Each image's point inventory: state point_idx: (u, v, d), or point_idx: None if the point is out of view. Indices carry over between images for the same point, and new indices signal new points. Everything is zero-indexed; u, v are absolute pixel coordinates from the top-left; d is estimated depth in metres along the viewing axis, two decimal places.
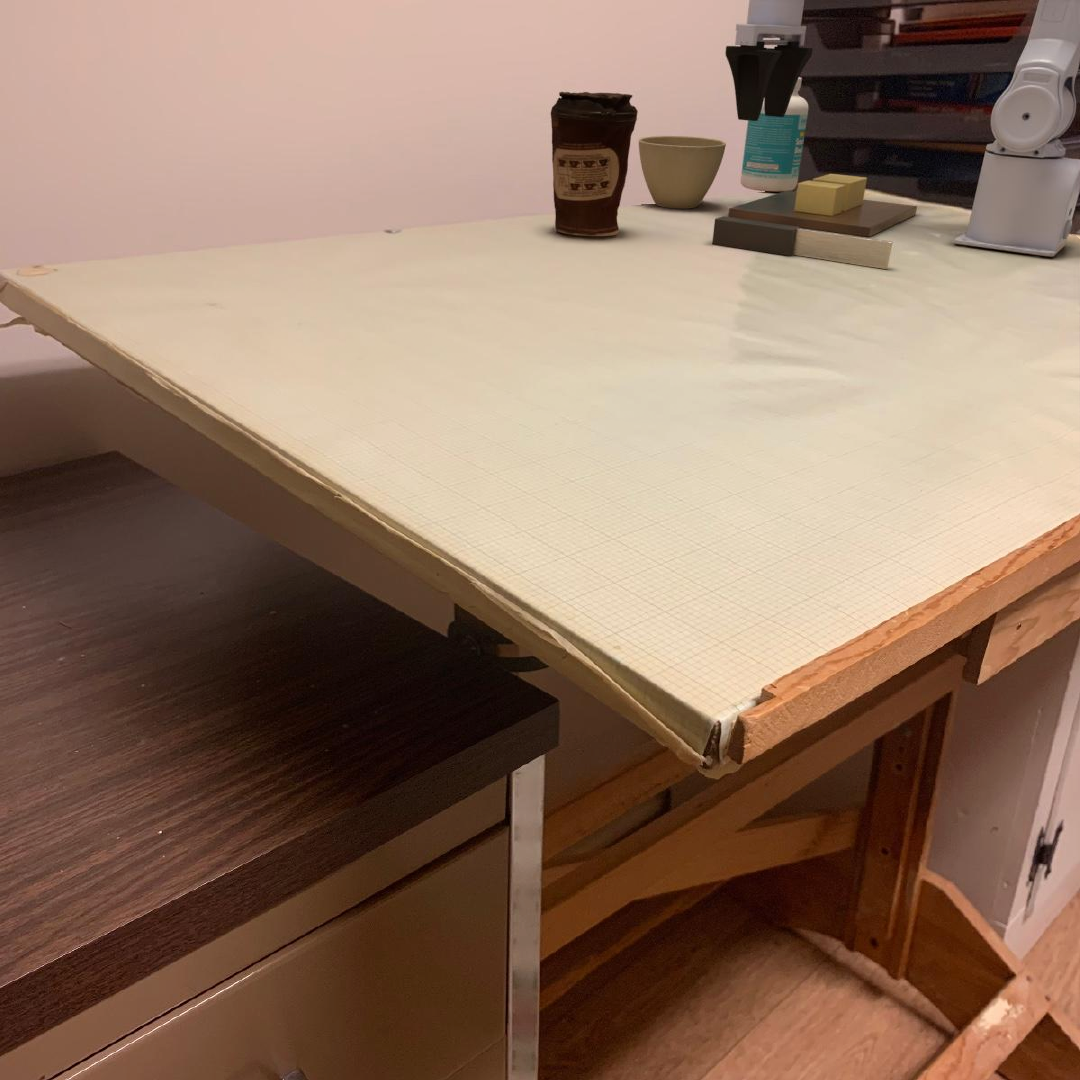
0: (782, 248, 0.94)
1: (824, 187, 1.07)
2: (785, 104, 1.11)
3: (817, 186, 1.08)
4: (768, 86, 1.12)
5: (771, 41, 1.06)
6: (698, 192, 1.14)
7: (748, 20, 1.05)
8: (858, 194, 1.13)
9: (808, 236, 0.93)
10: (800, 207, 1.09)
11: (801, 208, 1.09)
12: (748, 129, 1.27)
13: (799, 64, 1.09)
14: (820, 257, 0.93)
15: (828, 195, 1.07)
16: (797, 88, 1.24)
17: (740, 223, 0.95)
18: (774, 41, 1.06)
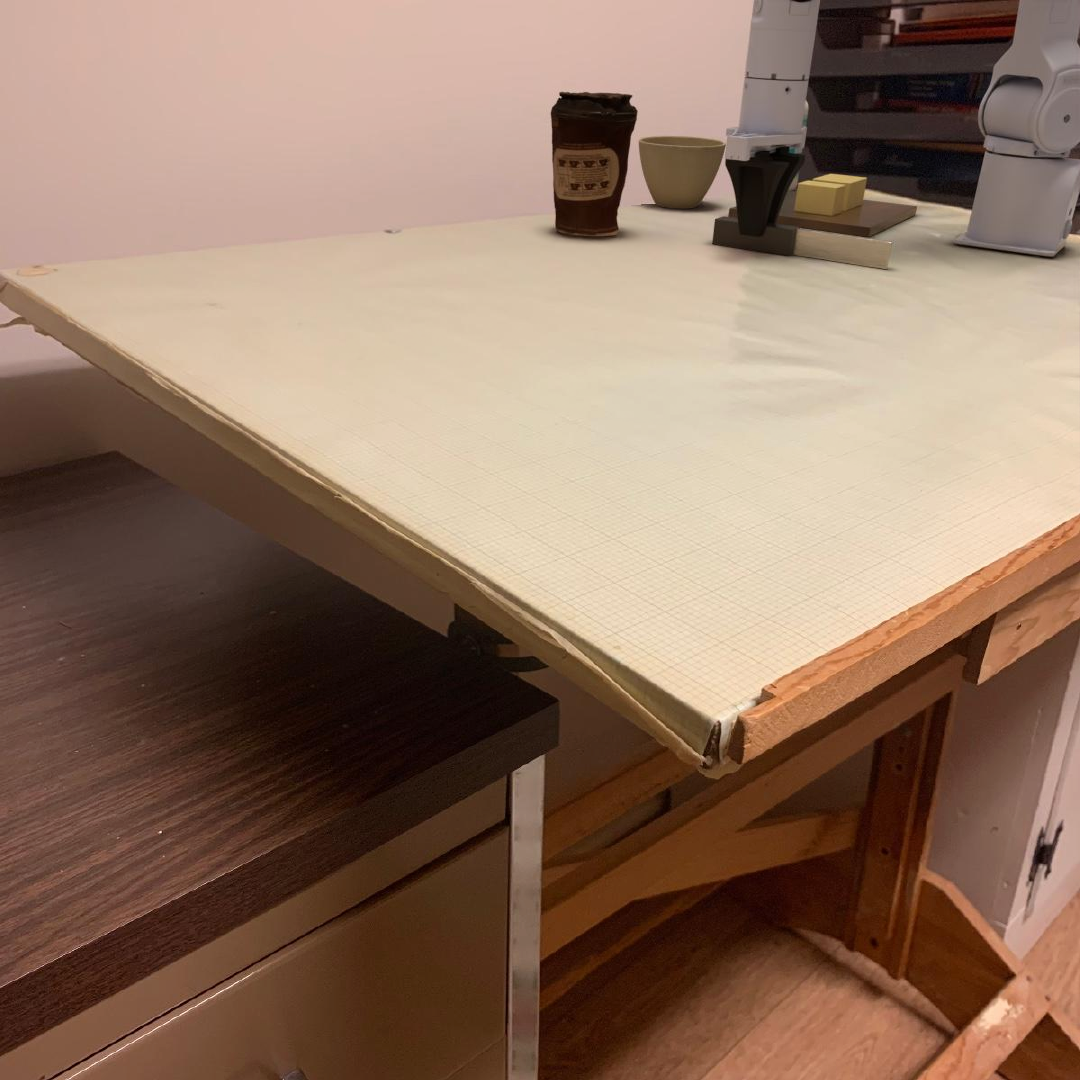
0: (782, 248, 0.94)
1: (824, 187, 1.07)
2: (773, 219, 0.95)
3: (817, 186, 1.08)
4: None
5: (767, 149, 0.91)
6: (698, 192, 1.14)
7: (740, 126, 0.91)
8: (858, 194, 1.13)
9: (808, 236, 0.93)
10: (800, 207, 1.09)
11: (801, 208, 1.09)
12: None
13: (789, 175, 0.93)
14: (820, 257, 0.93)
15: (828, 195, 1.07)
16: None
17: None
18: (770, 149, 0.92)
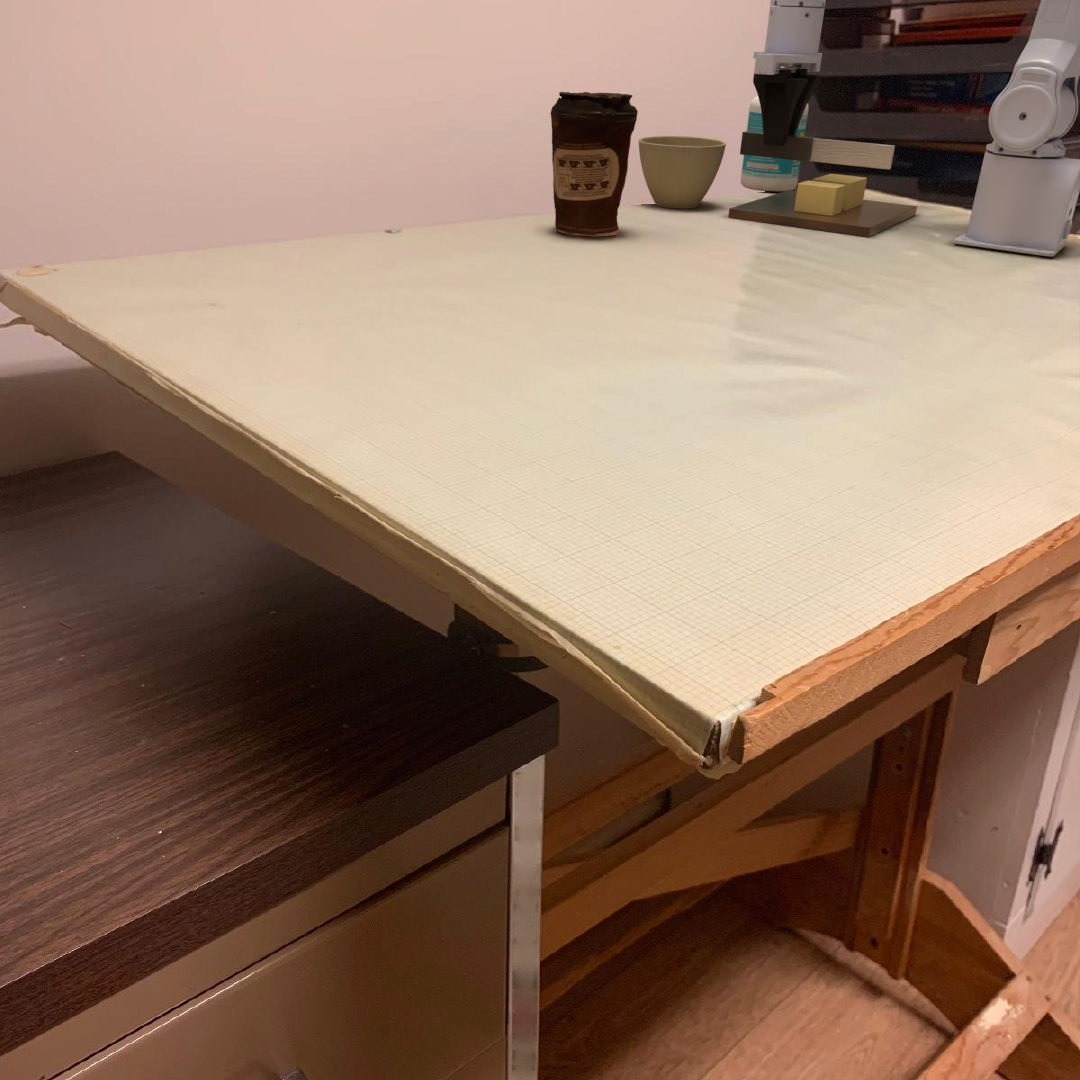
0: (801, 155, 1.10)
1: (824, 187, 1.07)
2: (793, 131, 1.11)
3: (817, 186, 1.08)
4: None
5: (788, 69, 1.07)
6: (698, 192, 1.14)
7: (766, 48, 1.07)
8: (858, 194, 1.13)
9: (822, 144, 1.09)
10: (800, 207, 1.09)
11: (801, 208, 1.09)
12: (748, 129, 1.27)
13: (807, 92, 1.09)
14: (833, 162, 1.09)
15: (828, 195, 1.07)
16: None
17: None
18: (791, 69, 1.08)
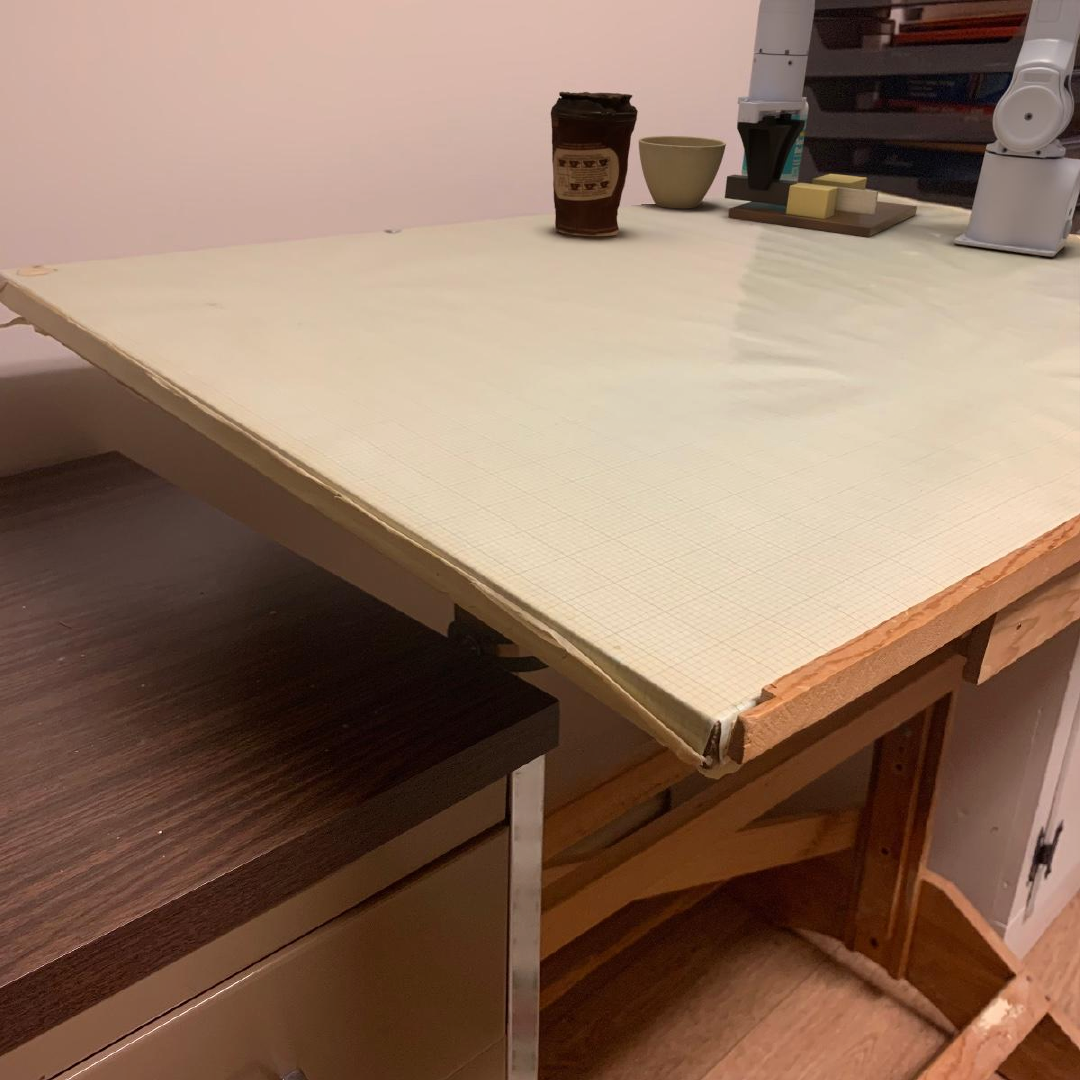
0: (785, 199, 1.10)
1: (816, 189, 1.05)
2: (777, 175, 1.11)
3: (809, 188, 1.06)
4: None
5: (772, 115, 1.07)
6: (698, 192, 1.14)
7: (750, 95, 1.07)
8: None
9: None
10: (792, 210, 1.08)
11: (793, 211, 1.08)
12: None
13: (791, 137, 1.09)
14: None
15: (820, 197, 1.05)
16: None
17: None
18: (775, 115, 1.08)
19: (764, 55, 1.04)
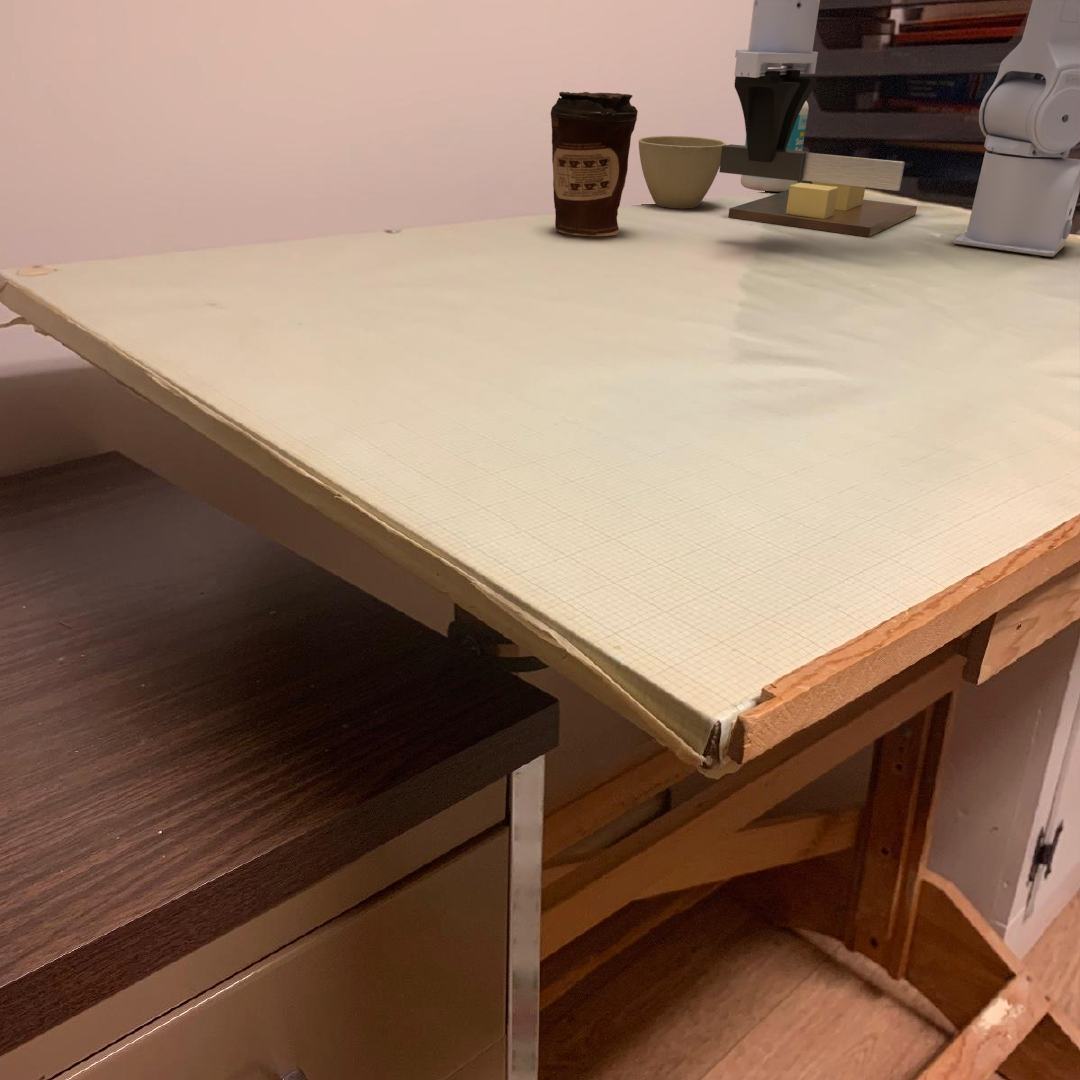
0: (791, 173, 0.91)
1: (816, 189, 1.05)
2: (783, 145, 0.93)
3: (809, 188, 1.06)
4: None
5: (777, 70, 0.89)
6: (698, 192, 1.14)
7: (750, 46, 0.89)
8: (858, 194, 1.13)
9: (817, 160, 0.91)
10: (792, 210, 1.08)
11: (793, 211, 1.08)
12: None
13: (800, 98, 0.91)
14: (830, 181, 0.91)
15: (820, 197, 1.05)
16: None
17: None
18: (781, 70, 0.90)
19: None
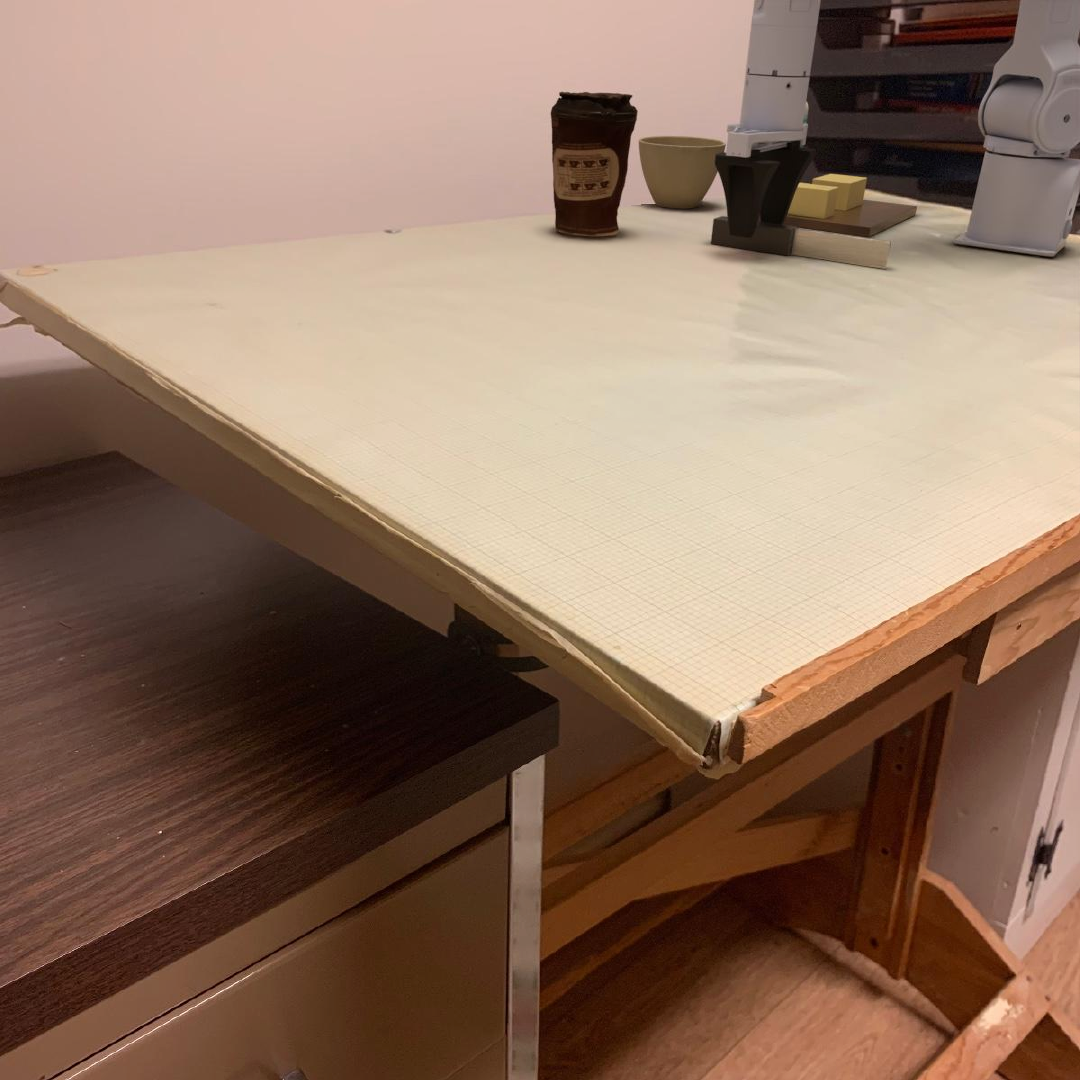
0: (781, 248, 0.94)
1: (816, 189, 1.05)
2: (784, 212, 0.97)
3: (809, 188, 1.06)
4: (764, 191, 0.97)
5: (768, 146, 0.91)
6: (698, 192, 1.14)
7: (741, 122, 0.91)
8: (858, 194, 1.13)
9: (806, 236, 0.93)
10: (792, 210, 1.08)
11: (793, 211, 1.08)
12: None
13: (800, 169, 0.95)
14: (819, 257, 0.93)
15: (820, 197, 1.05)
16: None
17: None
18: (771, 145, 0.92)
19: (758, 76, 0.87)
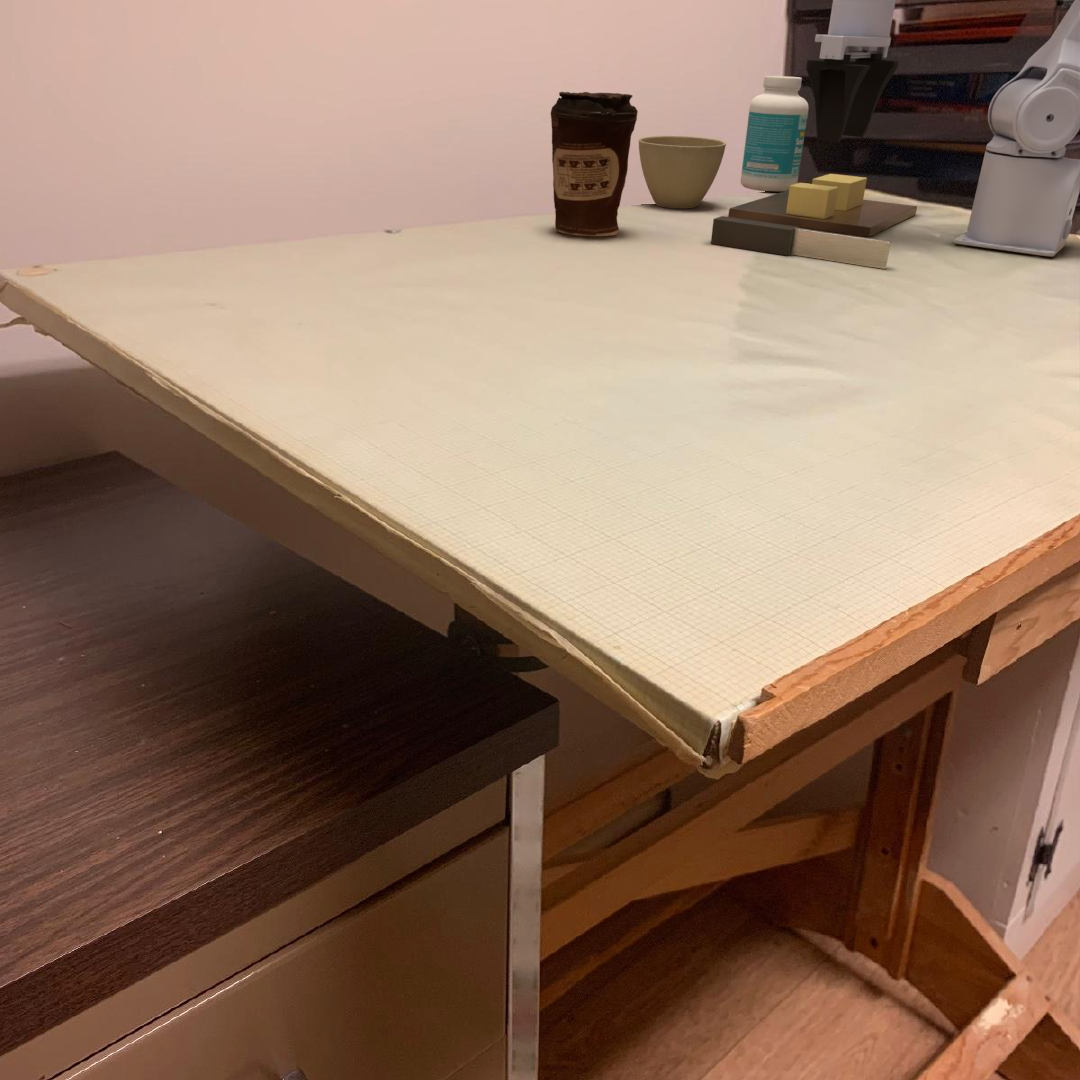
0: (781, 248, 0.94)
1: (816, 189, 1.05)
2: (866, 123, 1.01)
3: (809, 188, 1.06)
4: None
5: (856, 54, 0.95)
6: (698, 192, 1.14)
7: (830, 30, 0.94)
8: (858, 194, 1.13)
9: (806, 236, 0.93)
10: (792, 210, 1.08)
11: (793, 211, 1.08)
12: (748, 129, 1.27)
13: (883, 79, 0.98)
14: (819, 257, 0.93)
15: (820, 197, 1.05)
16: (797, 88, 1.24)
17: (739, 223, 0.95)
18: (858, 54, 0.96)
19: None
